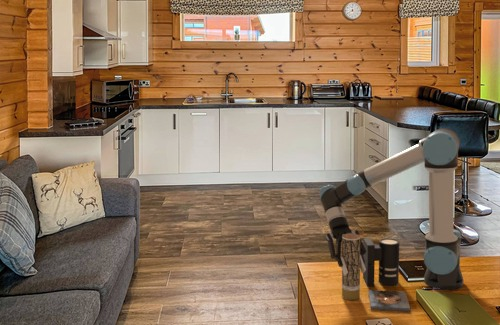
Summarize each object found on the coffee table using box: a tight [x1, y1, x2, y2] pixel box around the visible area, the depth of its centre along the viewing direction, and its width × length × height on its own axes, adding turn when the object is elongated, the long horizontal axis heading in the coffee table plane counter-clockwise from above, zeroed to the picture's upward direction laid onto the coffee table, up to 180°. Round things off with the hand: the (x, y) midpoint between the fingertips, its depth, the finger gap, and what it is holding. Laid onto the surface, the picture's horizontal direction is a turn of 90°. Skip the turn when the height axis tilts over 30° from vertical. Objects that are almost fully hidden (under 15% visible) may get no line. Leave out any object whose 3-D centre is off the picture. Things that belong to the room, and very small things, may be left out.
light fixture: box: [362, 237, 400, 288], centre depth 204 cm, size 10×14×18 cm
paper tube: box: [341, 233, 361, 301], centre depth 190 cm, size 7×7×25 cm
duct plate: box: [368, 289, 411, 313], centre depth 187 cm, size 14×14×2 cm
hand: (355, 272), depth 187 cm, fingers closed on paper tube, 7 cm apart
